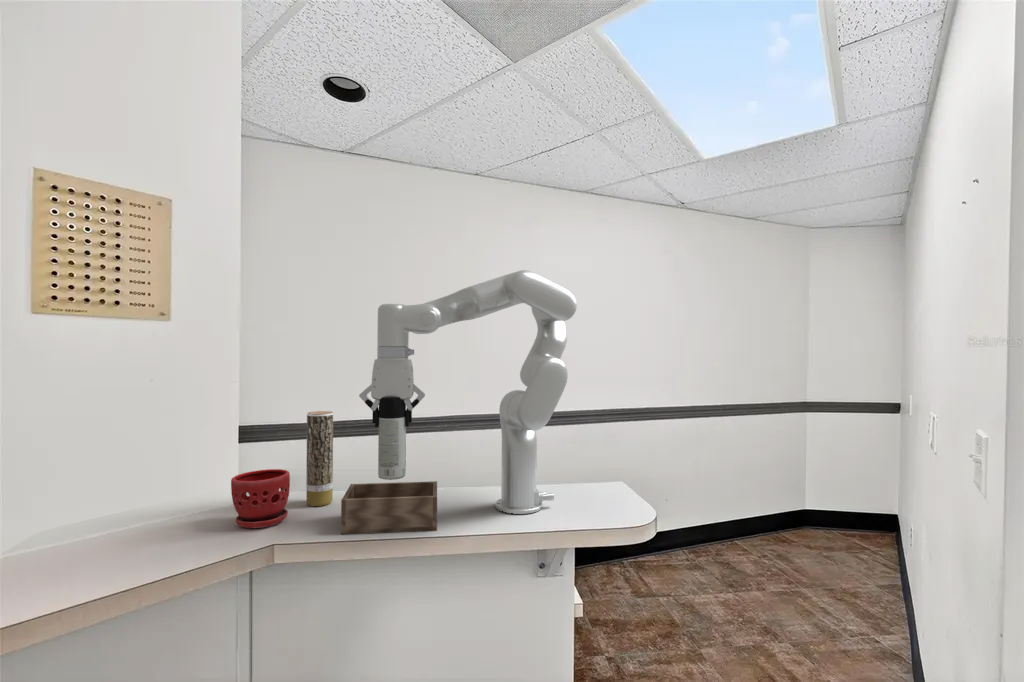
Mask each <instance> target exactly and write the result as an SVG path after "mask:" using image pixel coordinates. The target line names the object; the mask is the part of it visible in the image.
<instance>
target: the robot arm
mask: <svg viewBox="0 0 1024 682" xmlns="http://www.w3.org/2000/svg"><path fill="white" fill-rule="evenodd" d="M577 303H578V302H577V299H576V297H575V295H574V294H573V293H572V292H570V290H569V289H566V288H565V287H563V286H561V285H559V284H557V283H555V282H552V281H551V280H549V279H547V278H545V277H543V276H541V275H540V274H537V273H535V272H532V271H530V270H525V269H524V270H523V269H521V270H518V271H514V272H511V273H508V274H504V275H501V276H499V277H495V278H492V279H490V280H486V281H484V282H483V281H482V282H479V283H477V284H473V285H469V286H467V287H464V288H462V289H460V290H457V291H455V292H453V293H450V294H448V295H445V296H443V297H439V298H437V299H436V298H435V299H433V300H431V301H427V302H424V303H420V304H409V305H408V304H401V303H383V304H380V305H379V307H378V308H377V349H376V350H377V353H376V357H377V358H376V359H374V362H373V365H372V366H373V367H372V371H371V384H370V385H368V386H367V387H366V388H365V389H364V390H363V391H362V392H361V393H359V395H358V396H359V398H360V399H361V400H362V401H363V402H364V404H365V405H366V406H368V407H369V409H370V410H371V411H372V424H374V428H379V402H380V399H381V398H382V397H400V398H401V399H402V400H404V402H405V404H406V428H408V427H409V426H410V424H411V423H413V421H412V419H413V418H412V416H413V409H414V408H415V407H417V405H419V403H420V402H421V401H422V399H424V398H425V396H426V393H424V391H422V390H421V389H420V388H419V387H418V386H417V385H416V384H415V383H414V382H415V381H414V380H415V379H414V368H413V367H414V366H413V362H412V359H410V358H409V357H410V356H414V355H415V349H411V348H409V335H410V334H409V333H413V334H415V335H429V334H432V333H435V332H436V331H437V330H438V329H439V328H442V327H445V326H447V325H452V324H455V323H458V322H463V321H471V320H475V319H478V318H479V319H480V318H482V317H485V316H488V315H490V314H494V313H496V312H499V311H502V310H505V309H508V308H511V307H514V306H517V305H520V304H526V305H527V306H529V307H530V308H531V313H532V316H533V317H534V319H535V323H536V325H537V327H536V328H537V333H536V337H535V339H534V342H533V344H532V346H531V348H530V350H529V352H528V354H527V356H526V358H525V360H524V362H523V364H522V365H521V369H520V372H519V378H520V380H521V382H522V384H523V385H524V386H526V388H525V390H519V389H516V390H511V391H508V393H506V394H505V395H504V396H503V397H502V398H501V400H500V404H499V408H498V409H499V413H498V414H499V421H500V429H501V430H500V432H501V484H500V485H501V496H500V497H501V498H499V499H497V500H496V501H495V508H496V509H497V511H500V512H502V511H503V512H502V513H505V512H506V513H507V514H511V513H513V514H512V515H526V514H533V513H536V512H538V511H540V510H542V508H543V503H542V502H543V501H554V500H555V494H554V492H553V493H552V492H550V493H549V492H548V491H539V490H538V489H537V470H538V468H537V464H538V463H537V458H538V457H537V456H538V455H537V453H538V452H537V450H538V444H537V443H538V440H537V439H538V438H537V431H539V430H541V429H542V428H544V427H545V426H546V425H547V424H549V423H548V422H549V421H550V419H551V418H552V416H553V414H554V412H555V409H556V407H557V406H558V404H559V401H560V400H561V397H562V395H563V392H564V391H565V389H566V387H567V386H566V385H567V383H568V378H569V377H568V376H569V375H568V374H569V373H568V369H567V366H566V364H565V363H564V361H563V360H561V358H562V356H563V353H564V351H565V348H566V345H567V342H568V330H567V327H566V326H567V325H566V323H565V321H568V320H570V319H571V318H573V316H574V315H575V314H576V311H577V308H578V307H577V306H578V304H577ZM414 393H415V394H416V395H417V397H416V398H414V399H413V401H411V399H412V398H413V396H414ZM368 394H370V396H371V398H372V399H373V400H374V401H372V399H370V398H369V397H368Z"/></svg>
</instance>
